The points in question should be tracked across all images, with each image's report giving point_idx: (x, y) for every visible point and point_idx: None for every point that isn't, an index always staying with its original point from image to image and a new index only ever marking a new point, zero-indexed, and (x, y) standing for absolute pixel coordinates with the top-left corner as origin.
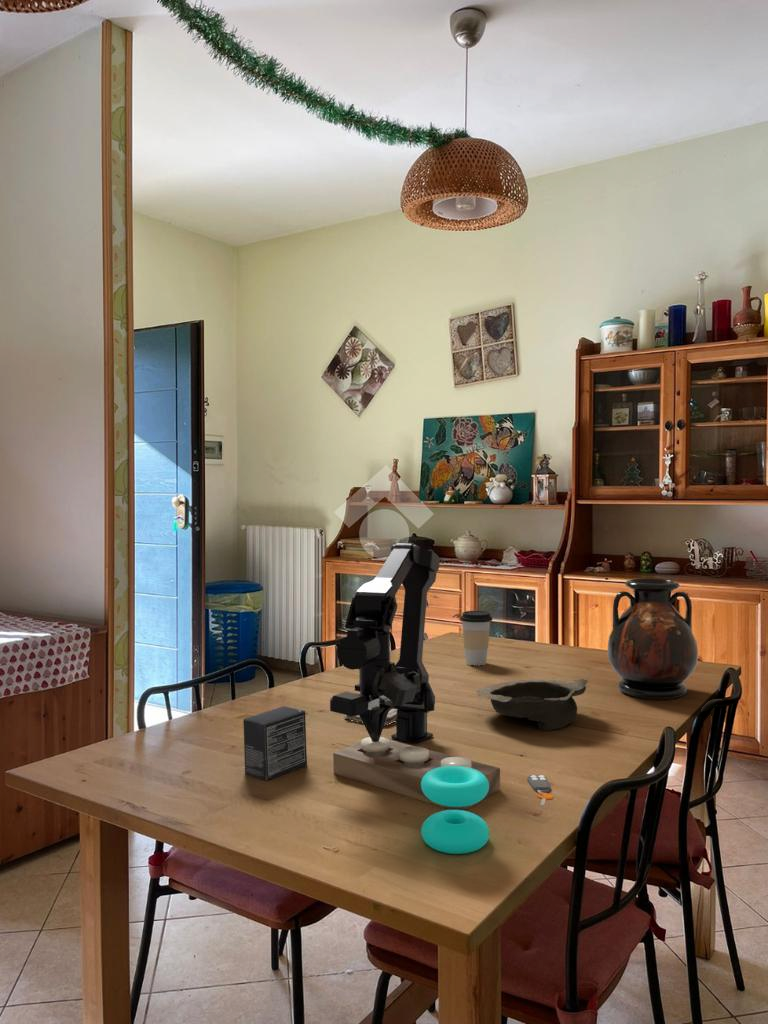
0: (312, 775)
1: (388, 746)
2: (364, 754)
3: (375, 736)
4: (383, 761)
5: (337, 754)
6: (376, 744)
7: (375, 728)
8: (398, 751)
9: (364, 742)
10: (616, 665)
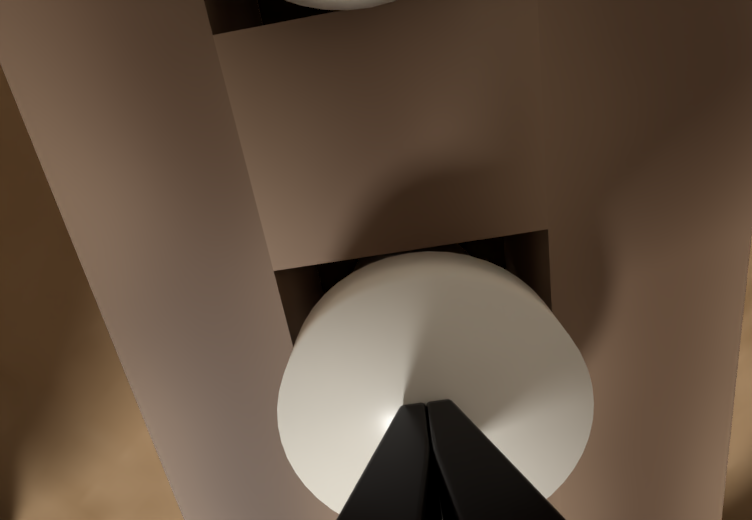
0: (733, 464)
1: (360, 278)
2: (587, 344)
3: (481, 437)
4: (624, 60)
5: (720, 486)
6: (507, 339)
7: (557, 514)
8: (287, 188)
9: (546, 461)
10: None
